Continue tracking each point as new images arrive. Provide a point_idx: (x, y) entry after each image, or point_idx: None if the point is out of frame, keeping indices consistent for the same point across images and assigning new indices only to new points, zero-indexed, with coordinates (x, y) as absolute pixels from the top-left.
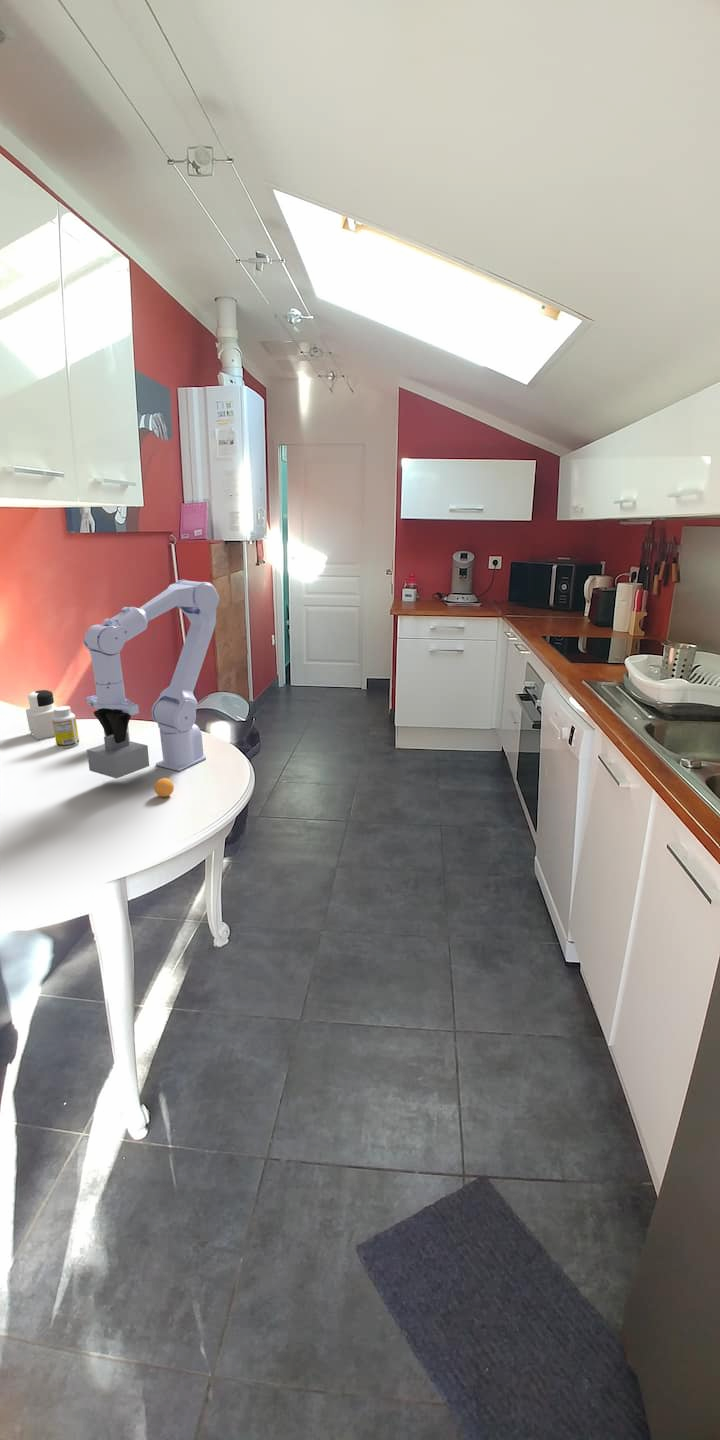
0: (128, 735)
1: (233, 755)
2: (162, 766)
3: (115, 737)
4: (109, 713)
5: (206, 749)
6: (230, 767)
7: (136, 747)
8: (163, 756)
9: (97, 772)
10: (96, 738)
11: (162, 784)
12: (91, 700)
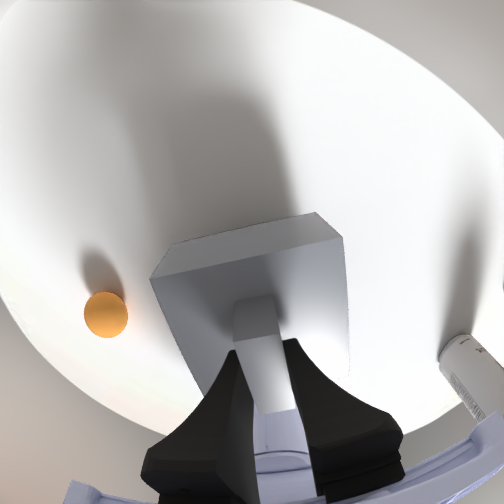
0: (444, 376)
1: None
2: None
3: (228, 365)
4: (215, 484)
5: None
6: None
7: (211, 377)
8: None
9: (271, 221)
10: (494, 327)
11: (85, 312)
12: (469, 477)
